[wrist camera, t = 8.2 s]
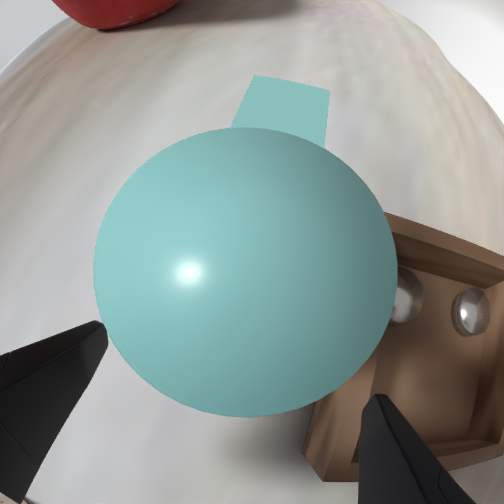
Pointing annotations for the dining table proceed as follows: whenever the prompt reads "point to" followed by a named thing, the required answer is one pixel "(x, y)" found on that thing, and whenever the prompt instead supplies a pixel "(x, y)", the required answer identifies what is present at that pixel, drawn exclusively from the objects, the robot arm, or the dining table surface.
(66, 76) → the dining table surface
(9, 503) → the teacup with lid
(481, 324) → the silver metal disc
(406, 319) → the grey metal puck
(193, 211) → the canister
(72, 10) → the mixing bowl
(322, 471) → the brown wooden tray
